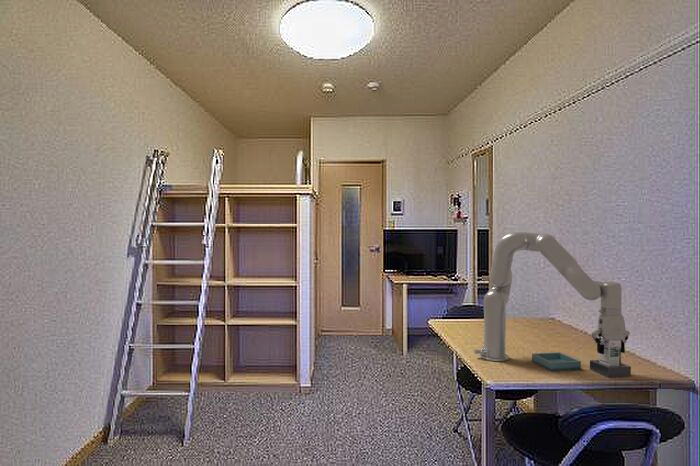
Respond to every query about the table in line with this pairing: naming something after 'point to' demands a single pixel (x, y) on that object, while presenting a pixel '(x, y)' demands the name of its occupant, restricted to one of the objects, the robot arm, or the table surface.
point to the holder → (610, 369)
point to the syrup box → (611, 353)
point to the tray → (556, 361)
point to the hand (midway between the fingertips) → (610, 352)
